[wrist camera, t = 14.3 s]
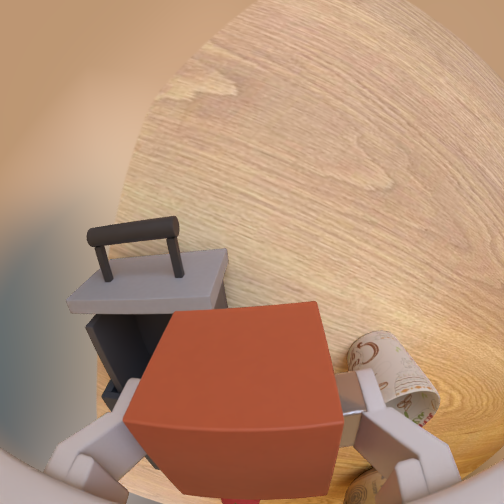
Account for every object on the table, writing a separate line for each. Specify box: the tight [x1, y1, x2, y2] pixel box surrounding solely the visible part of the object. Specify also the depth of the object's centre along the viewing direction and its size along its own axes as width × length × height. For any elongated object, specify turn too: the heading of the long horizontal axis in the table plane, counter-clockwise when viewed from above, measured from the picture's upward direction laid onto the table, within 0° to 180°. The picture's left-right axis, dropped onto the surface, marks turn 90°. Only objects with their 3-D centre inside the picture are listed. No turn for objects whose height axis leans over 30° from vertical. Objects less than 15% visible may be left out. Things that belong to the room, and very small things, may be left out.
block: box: [123, 301, 344, 500], centre depth 8 cm, size 4×4×4 cm
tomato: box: [221, 498, 260, 504], centre depth 40 cm, size 8×8×8 cm
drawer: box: [66, 216, 229, 393], centre depth 23 cm, size 18×11×8 cm, turn 7°
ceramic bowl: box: [343, 468, 386, 504], centre depth 35 cm, size 22×17×15 cm
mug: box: [347, 331, 440, 427], centre depth 25 cm, size 8×13×10 cm, turn 50°
